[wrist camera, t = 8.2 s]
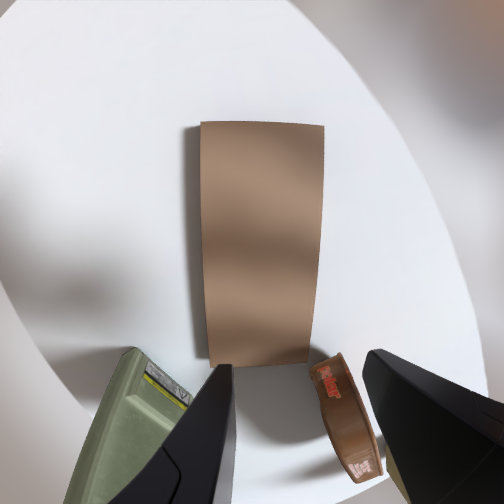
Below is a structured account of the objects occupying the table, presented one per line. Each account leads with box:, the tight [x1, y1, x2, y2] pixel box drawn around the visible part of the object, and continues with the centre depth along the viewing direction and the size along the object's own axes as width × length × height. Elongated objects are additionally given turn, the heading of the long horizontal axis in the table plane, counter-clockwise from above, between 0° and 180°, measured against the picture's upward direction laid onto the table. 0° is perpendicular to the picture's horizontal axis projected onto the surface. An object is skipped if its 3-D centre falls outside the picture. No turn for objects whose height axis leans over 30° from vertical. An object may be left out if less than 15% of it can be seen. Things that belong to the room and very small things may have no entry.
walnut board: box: [200, 121, 324, 368], centre depth 17 cm, size 16×7×1 cm, turn 0°
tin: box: [309, 352, 383, 484], centre depth 18 cm, size 15×3×8 cm, turn 25°
